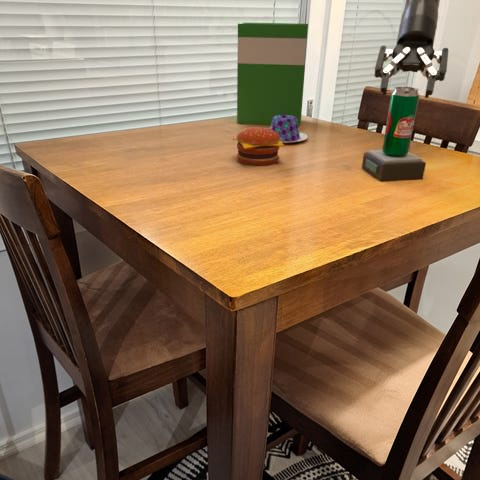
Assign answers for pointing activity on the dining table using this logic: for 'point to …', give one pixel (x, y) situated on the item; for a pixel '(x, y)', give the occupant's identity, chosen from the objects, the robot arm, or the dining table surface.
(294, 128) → the pudding
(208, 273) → the dining table surface
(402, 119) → the soda can
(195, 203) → the dining table surface
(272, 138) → the hamburger
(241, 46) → the hardback book
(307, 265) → the dining table surface
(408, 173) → the scale
